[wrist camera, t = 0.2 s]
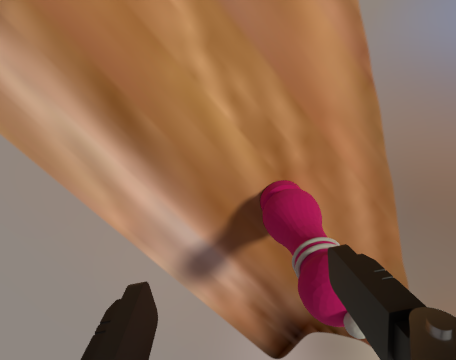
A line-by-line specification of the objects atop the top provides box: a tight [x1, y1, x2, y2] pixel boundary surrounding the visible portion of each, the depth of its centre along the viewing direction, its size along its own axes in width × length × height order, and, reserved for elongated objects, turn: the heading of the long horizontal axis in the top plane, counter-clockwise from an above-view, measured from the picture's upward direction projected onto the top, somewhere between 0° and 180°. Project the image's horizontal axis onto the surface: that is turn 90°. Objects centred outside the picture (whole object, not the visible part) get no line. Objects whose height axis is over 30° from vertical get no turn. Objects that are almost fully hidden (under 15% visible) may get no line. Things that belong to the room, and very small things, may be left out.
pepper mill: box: [260, 180, 365, 339], centre depth 25 cm, size 7×7×20 cm
